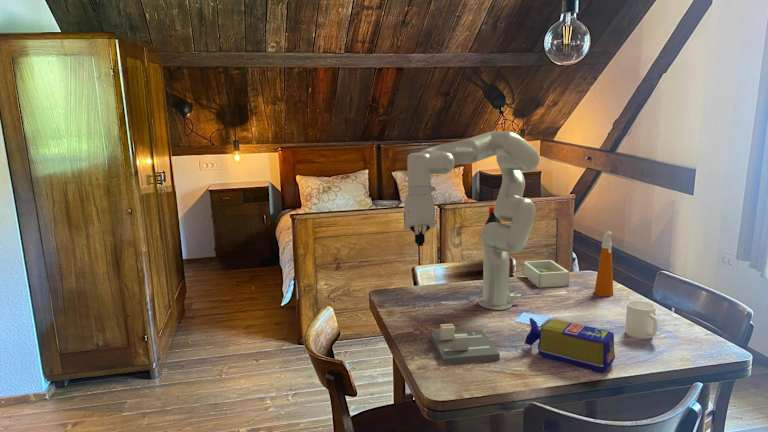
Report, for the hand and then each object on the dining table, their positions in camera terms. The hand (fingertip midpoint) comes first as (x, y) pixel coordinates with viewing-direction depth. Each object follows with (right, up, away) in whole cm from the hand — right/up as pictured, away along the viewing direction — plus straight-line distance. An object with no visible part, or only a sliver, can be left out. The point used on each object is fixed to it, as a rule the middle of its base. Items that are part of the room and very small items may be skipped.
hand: (419, 245), depth 178 cm
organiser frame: (+57, -18, +52) cm, 79 cm away
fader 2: (+11, -30, -16) cm, 36 cm away
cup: (+72, -29, -6) cm, 78 cm away
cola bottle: (+38, -16, +65) cm, 77 cm away
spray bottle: (+75, -22, +32) cm, 84 cm away
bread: (+43, -33, -19) cm, 57 cm away
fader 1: (+8, -29, -9) cm, 31 cm away
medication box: (+59, -18, +53) cm, 81 cm away
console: (+13, -32, -12) cm, 36 cm away
